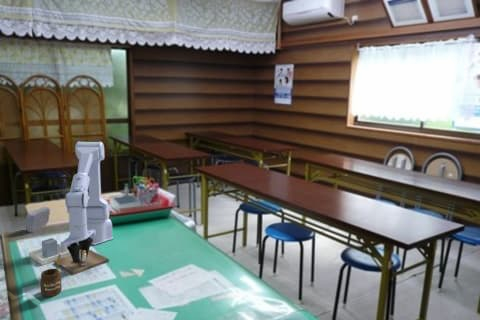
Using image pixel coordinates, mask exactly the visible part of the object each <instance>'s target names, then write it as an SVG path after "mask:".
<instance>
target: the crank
mask: <svg viewBox="0 0 480 320" xmlns="http://www.w3.org/2000/svg"><path fill="white" fill-rule="evenodd" d="M79 262H80V263H81V266H82V265H86V263H87V258H86V249H82V250H80V253H79Z"/></svg>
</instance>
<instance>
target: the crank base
mask: <svg viewBox="0 0 480 320" xmlns="http://www.w3.org/2000/svg"><path fill="white" fill-rule="evenodd" d="M109 262H110V259H109V258H107V257H105V256H103V255H101V254H99V253H97V252H96V251H93V250H91V249H89V251H88V256H87V263H86V265H82V266H81V263H80V262H78V263H75V262H73V259H72V257H71V255H70V256H67V257H64V258H61V259H60V263H59V265H58V267H60V268H61V269H63V270H65V272H66V271H67V272H68V273H70V274H72V275H77V274H80V273H82V272H85V271H88V270H91V269H93V268H96V267H98V266H102V265H104V264H106V263H109ZM53 264H55V265H56V266H57V260H55V261H54V262H53Z"/></svg>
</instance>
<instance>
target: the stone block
mask: <svg viewBox="0 0 480 320" xmlns="http://www.w3.org/2000/svg"><path fill="white" fill-rule="evenodd" d="M50 214H51V209H50V207H47V206H41V207H40V208H38V209H35V210H30V211H29V212H28V213H27V215H25V217H26V218H25V227H26V228H25V229H26V231H27V232H28V233H33V232H36V231H38V230H39V229H41V228H43V227H44V226H45V225H46V224H48V222H49V220H50Z"/></svg>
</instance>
